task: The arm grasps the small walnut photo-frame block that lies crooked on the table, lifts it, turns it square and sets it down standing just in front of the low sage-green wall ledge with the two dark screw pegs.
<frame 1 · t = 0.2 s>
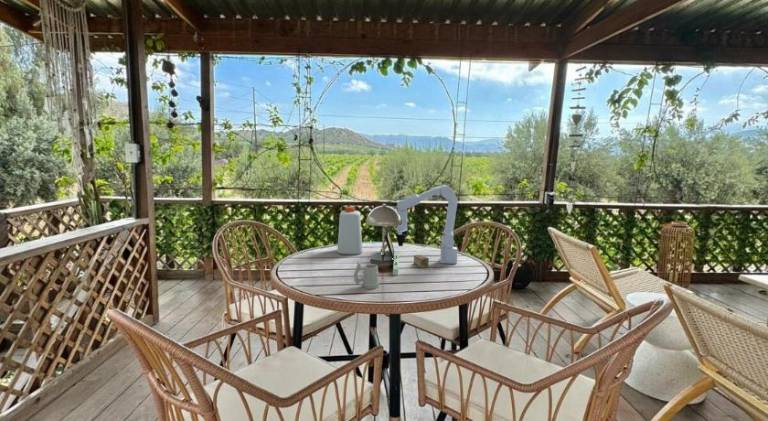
hand: (401, 244, 215), 10 cm above the table, tool pointing down, fingers open, 7 cm apart
plastic bottle: (350, 252, 234), on the table
frame block: (421, 265, 210), on the table
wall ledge: (396, 266, 206), on the table
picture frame: (386, 255, 228), on the table
mug: (366, 286, 176), on the table
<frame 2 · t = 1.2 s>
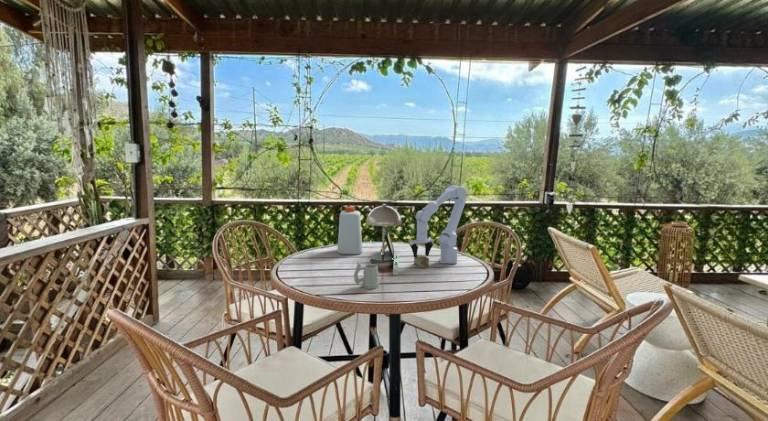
hand: (421, 256, 209), 5 cm above the table, tool pointing down, fingers open, 7 cm apart
nothing on the table moved.
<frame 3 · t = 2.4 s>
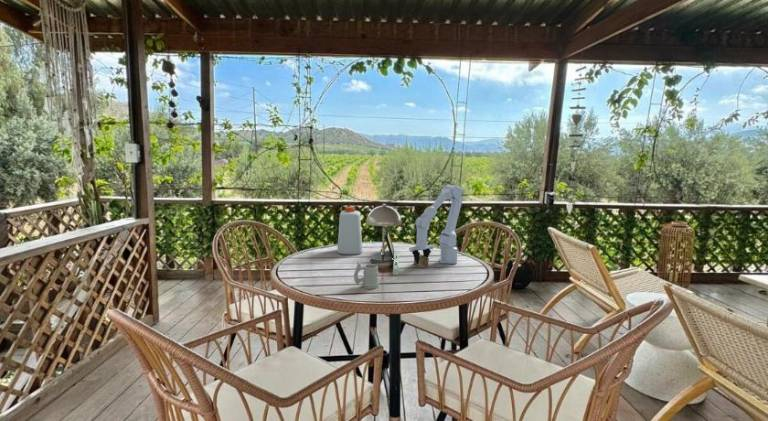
hand: (421, 262, 209), 1 cm above the table, tool pointing down, fingers closed on frame block, 5 cm apart
frame block: (421, 265, 209), on the table, touching gripper
everything else where it was.
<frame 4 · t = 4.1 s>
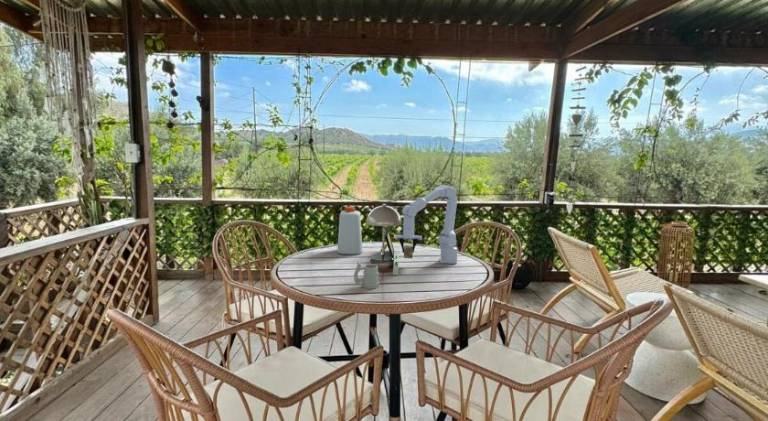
hand: (408, 252, 204), 8 cm above the table, tool pointing down, fingers closed on frame block, 5 cm apart
frame block: (408, 256, 204), point 6 cm above the table, touching gripper
everything else where it was.
when the fingers open (2 cm above the table, at t = 6.0 s): frame block stays where it is, on the table.
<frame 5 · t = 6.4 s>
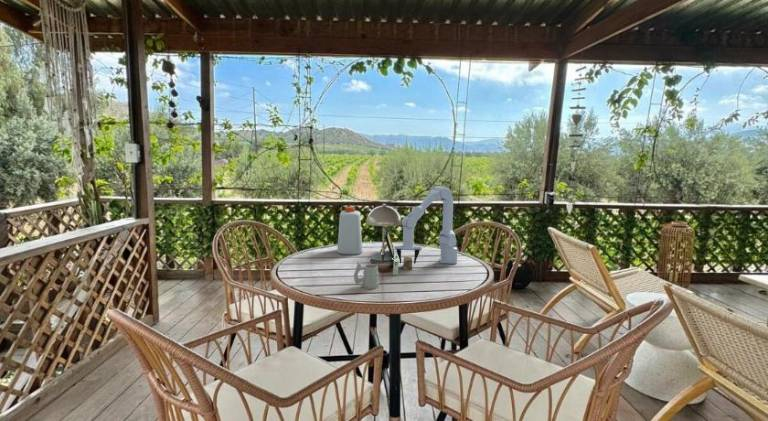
hand: (407, 263, 205), 2 cm above the table, tool pointing down, fingers open, 7 cm apart
frame block: (407, 267, 205), on the table
everything else where it was.
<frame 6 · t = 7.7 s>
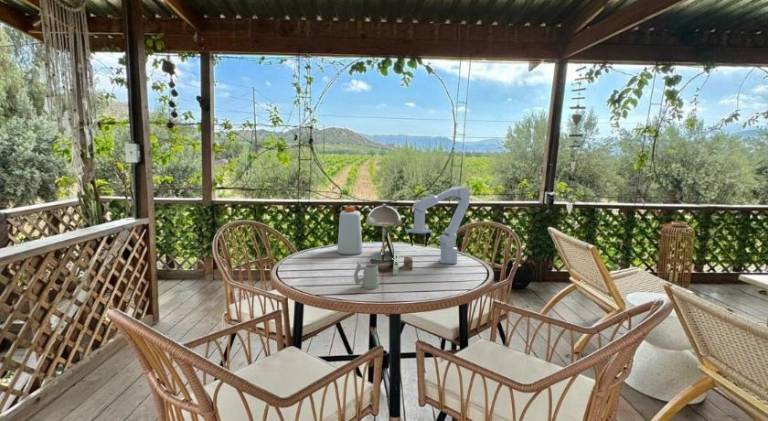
hand: (418, 246, 210), 10 cm above the table, tool pointing down, fingers open, 7 cm apart
nothing on the table moved.
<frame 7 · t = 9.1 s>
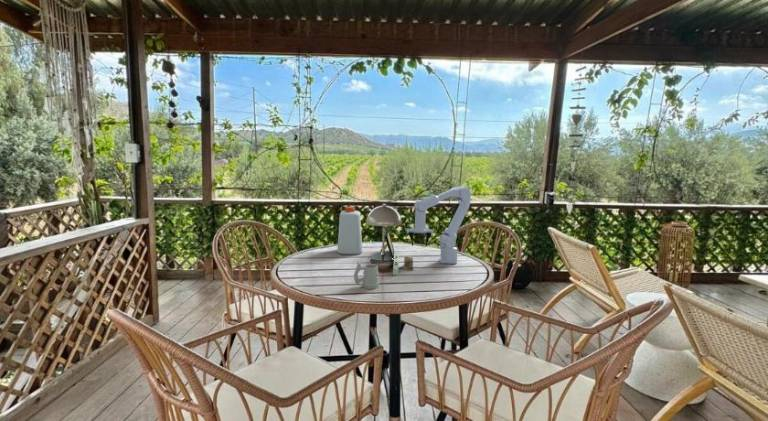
hand: (419, 245, 211), 10 cm above the table, tool pointing down, fingers open, 7 cm apart
nothing on the table moved.
at the end: frame block 0.8 cm from the target spot, on the table; frame block tilted 0°; frame block moved 8.4 cm from its start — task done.
